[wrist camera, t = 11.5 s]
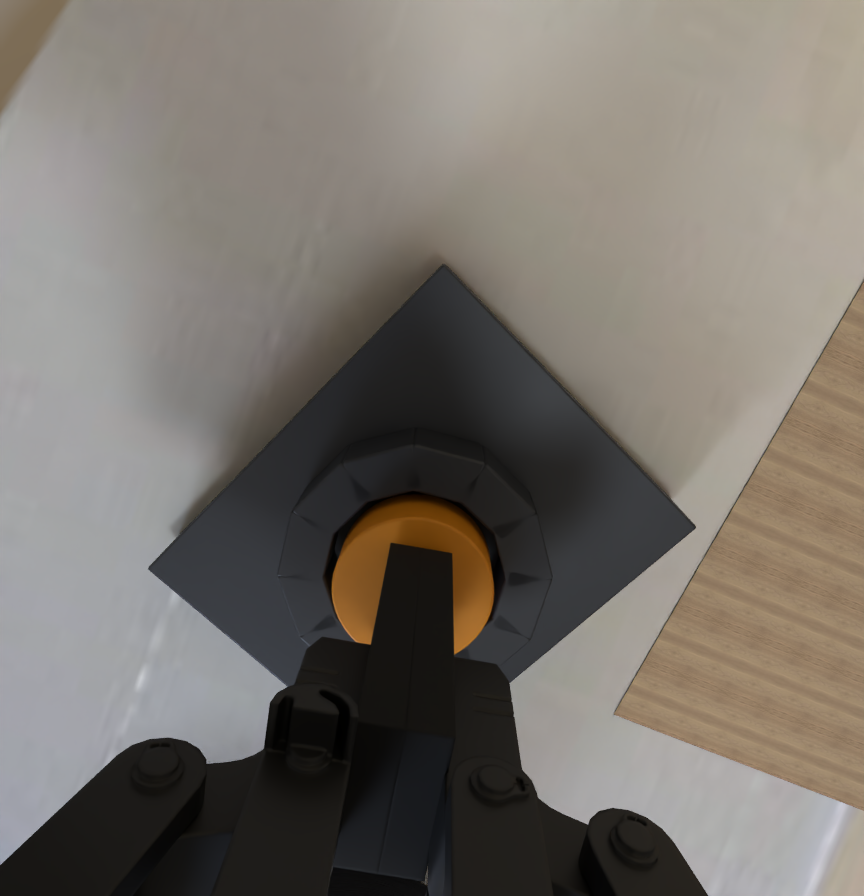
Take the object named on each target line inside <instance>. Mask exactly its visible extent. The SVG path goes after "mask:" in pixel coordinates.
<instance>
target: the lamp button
mask: <svg viewBox="0 0 864 896" xmlns="http://www.w3.org/2000/svg"><path fill="white" fill-rule="evenodd" d="M390 543H397V544H403V545H408V546H414V547H420V548H426V549H432V550H437V551H443V552H449V553H452V558H453V614H454V654H456V653H458V652H460V651H461V650H463V649H464V648H465V647H466V646H468V645H469V644H470V643H471V642H472V641H473V640H474V639H475V638H476V637H477V636H478V635H479V633H480V632H481V631H482V629H483V628H484V626H485V624H486V622H487V621H488V618H489V616H490V613H491V610H492V606H493V600H494V582H493V575H492V568H491V561H490V554H489V549H488V545H487V542H486V540H485V537H484V535H483V533H482V531H481V530H480V528H479V527H478V525H477V524H476V522H475V521H474V520H473V519H472V518H471V517H470V516H469V515H468V514H467V513H466V512H464V511H463V510H462V509H460V508H459V507H457V506H456V505H454V504H452V503H450V502H448V501H446V500H444V499H441V498H438V497H434V496H429V495H422V494H406V495H400V496H395V497H392V498H388V499H385V500H383V501H381V502H379V503H377V504H375V505H374V506H372V507H370V508H369V509H368V510H366V511H365V512H364V513H363V514H362V515H361V516H360V517H359V518H358V519H357V520H356V521H355V523H354V524H353V525H352V527H351V528H350V530H349V532H348V534H347V536H346V538H345V541H344V544H343V547H342V550H341V552H340V555H339V558H338V561H337V564H336V567H335V570H334V573H333V579H332V599H333V604H334V608H335V611H336V614H337V616H338V619H339V621H340V622H341V624H342V626H343V627H344V629H345V630H346V632H347V633H348V634H349V635H350V637H351V638H352V639H353V640H354V641H355V642H358V643H364V644H370V645H371V640H372V635H373V630H374V625H375V620H376V615H377V610H378V604H379V599H380V594H381V589H382V584H383V579H384V574H385V569H386V564H387V559H388V553H389V548H390Z"/></svg>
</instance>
